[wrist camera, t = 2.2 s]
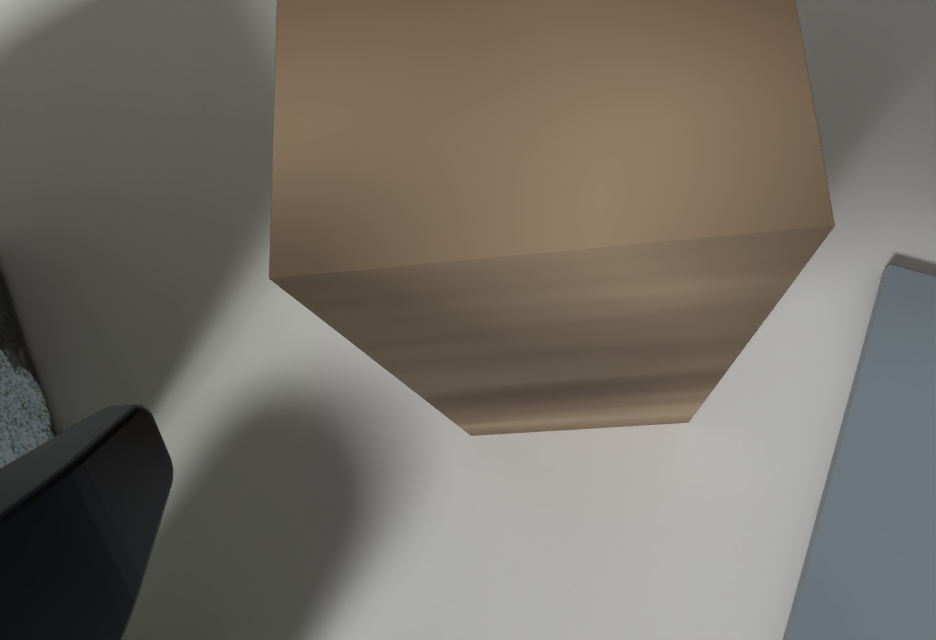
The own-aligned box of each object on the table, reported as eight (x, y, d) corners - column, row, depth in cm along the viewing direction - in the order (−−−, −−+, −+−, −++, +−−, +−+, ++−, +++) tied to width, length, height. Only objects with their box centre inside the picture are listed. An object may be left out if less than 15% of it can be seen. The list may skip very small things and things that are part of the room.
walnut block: (688, 422, 18) (834, 225, 7) (470, 435, 19) (269, 279, 7) (665, 217, 19) (753, -236, 8) (462, 237, 20) (281, -154, 9)
